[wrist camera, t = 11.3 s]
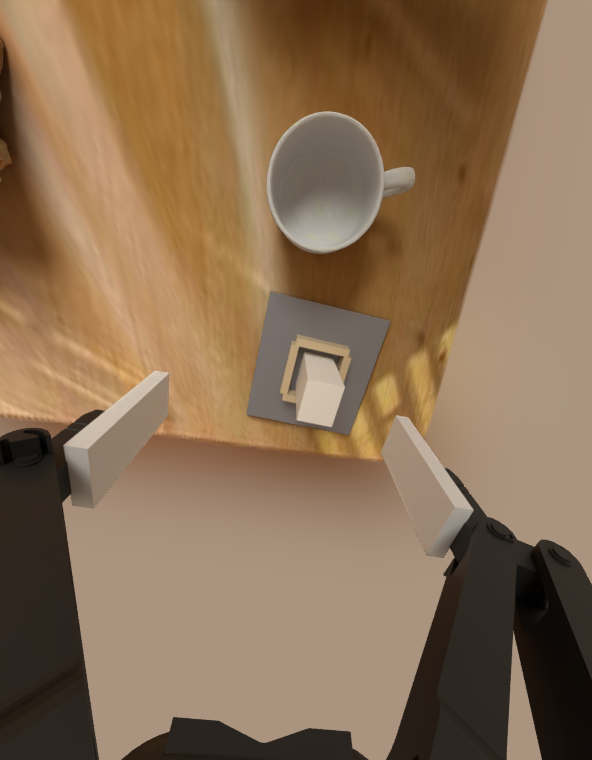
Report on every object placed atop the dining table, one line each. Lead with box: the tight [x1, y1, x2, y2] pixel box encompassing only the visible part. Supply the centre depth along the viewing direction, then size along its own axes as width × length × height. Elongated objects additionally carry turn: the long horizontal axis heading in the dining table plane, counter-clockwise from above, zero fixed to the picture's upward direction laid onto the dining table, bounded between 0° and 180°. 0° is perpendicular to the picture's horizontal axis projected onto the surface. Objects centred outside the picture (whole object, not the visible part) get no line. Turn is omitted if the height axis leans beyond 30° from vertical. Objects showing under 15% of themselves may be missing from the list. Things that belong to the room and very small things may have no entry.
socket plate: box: [246, 291, 390, 435], centre depth 39 cm, size 18×16×3 cm
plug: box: [296, 351, 345, 427], centre depth 35 cm, size 5×4×10 cm
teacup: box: [267, 111, 415, 254], centre depth 29 cm, size 14×11×8 cm
